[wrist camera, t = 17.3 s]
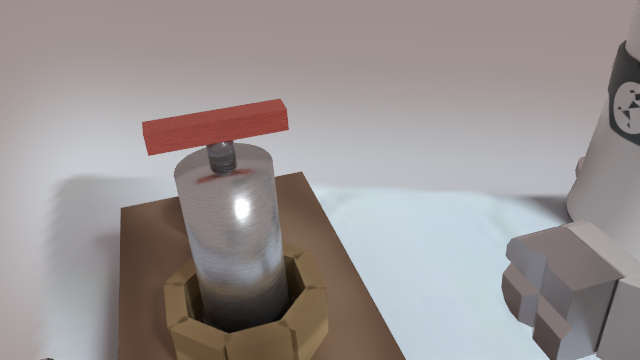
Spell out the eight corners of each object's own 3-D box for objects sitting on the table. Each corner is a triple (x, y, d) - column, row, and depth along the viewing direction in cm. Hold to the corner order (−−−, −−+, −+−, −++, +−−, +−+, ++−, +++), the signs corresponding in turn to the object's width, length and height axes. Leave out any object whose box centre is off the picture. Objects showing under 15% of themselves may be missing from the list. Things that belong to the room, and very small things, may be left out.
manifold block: (307, 231, 47) (299, 138, 42) (419, 467, 29) (428, 350, 24) (139, 269, 44) (110, 173, 39) (148, 560, 26) (96, 447, 21)
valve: (293, 283, 33) (271, 84, 26) (315, 342, 29) (297, 125, 22) (191, 308, 31) (141, 106, 25) (200, 374, 27) (144, 154, 21)
